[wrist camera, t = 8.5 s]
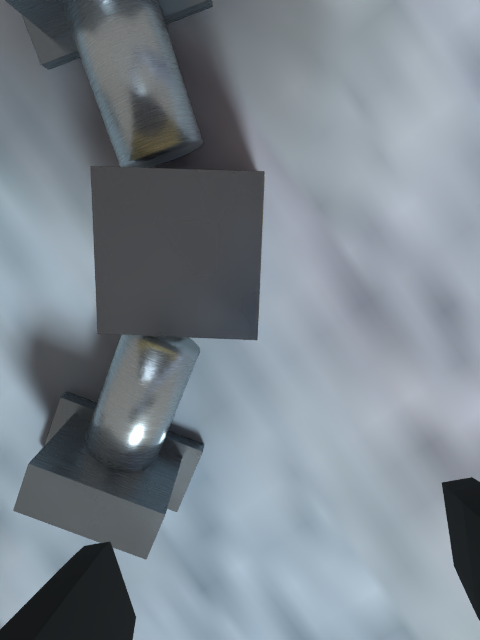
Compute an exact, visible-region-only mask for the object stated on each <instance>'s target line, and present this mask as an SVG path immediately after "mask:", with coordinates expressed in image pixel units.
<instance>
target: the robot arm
mask: <svg viewBox="0 0 480 640" xmlns="http://www.w3.org/2000/svg"><path fill="white" fill-rule="evenodd" d="M442 487H443V494H444V501H445V508H446V515H447V521H448V528H449V535H450V542H451V549H452V555H453V562H454V567H455V569H456V571H457V574H458V576H459V578H460V580H461V582H462V585H463V587H464V589H465V591H466V593H467V596H468V598H469V600H470V602H471V604H472V606H473V608H474V610H475V612H476V615H477V617H478V619H479V620H480V482H479V481H477V480H476V479H474V478H472V477H471V478H466V479H460V480H454V481H449V482H443V483H442ZM135 620H136V616H135V613H134V610H133V607H132V604H131V601H130V598H129V595H128V592H127V589H126V586H125V583H124V580H123V577H122V574H121V571H120V568H119V565H118V562H117V559H116V557H115V554H114V551H113V548H112V545H111V542H104V543H99V544H93V545H87V546H84V547H83V548H82V549H81V550H79V551H78V552H77V553H76V554H75V555H74V556H73V557H72V558H71V559H70V560H69V561H68V562H67V563H66V564H65V565H64V566H63V567H62V568H61V569H60V570H59V571H58V572H57V573H56V574H55V575H54V576H53V577H52V578H51V579H50V580H49V581H48V582H47V583H46V584H45V585H44V586H43V587H42V588H41V589H40V590H39V591H38V592H37V593H36V594H35V595H34V596H33V597H32V598H31V599H30V600H29V601H28V602H27V603H26V604H25V605H24V606H23V607H22V608H21V609H20V610H19V611H18V612H17V613H16V614H15V615H14V616H13V617H12V618H11V619H10V620H9V621H8V622H7V623H6V624H5V625H4V626H3V627H2V628H1V629H0V640H132V639H133V633H134V627H135Z"/></svg>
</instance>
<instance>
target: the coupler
mask: <svg viewBox="0 0 480 640" xmlns="http://www.w3.org/2000/svg"><path fill="white" fill-rule="evenodd" d="M91 187H92V210H93V234H94V258H95V282H96V306H97V329H98V334H116V335H141V336H167V337H192V338H217V339H243V340H257V336H258V318H259V295H260V271H261V248H262V224H263V200H264V171H234V170H201V169H169V168H136V167H104V166H91Z"/></svg>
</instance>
